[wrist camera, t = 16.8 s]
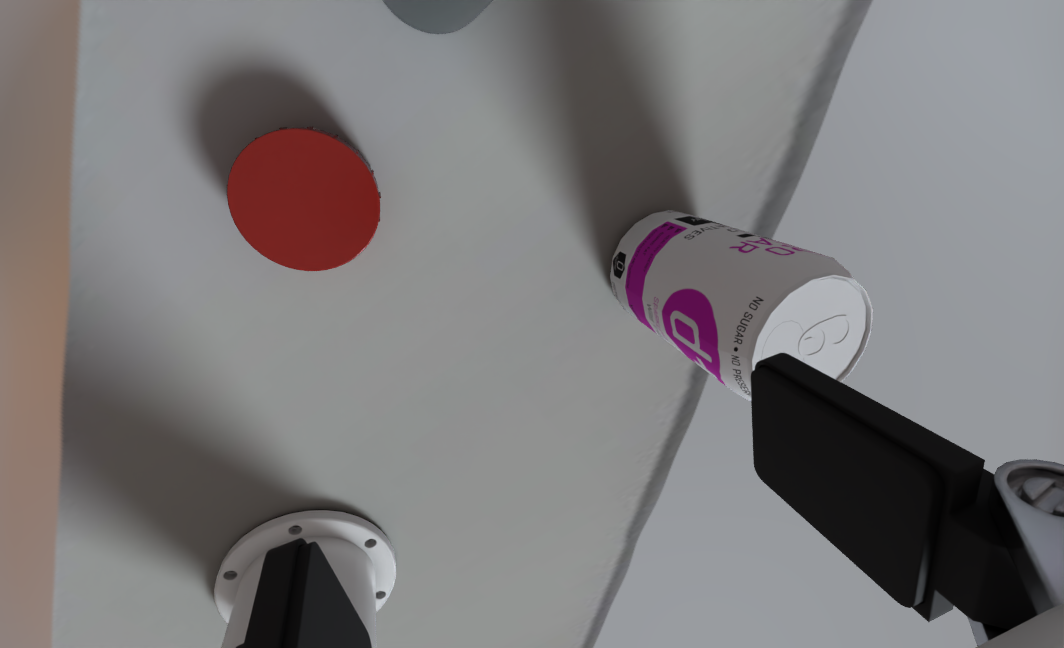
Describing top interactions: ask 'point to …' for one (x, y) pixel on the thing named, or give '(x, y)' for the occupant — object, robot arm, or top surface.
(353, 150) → the lid
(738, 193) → the top surface
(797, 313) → the supplement can
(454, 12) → the jar
